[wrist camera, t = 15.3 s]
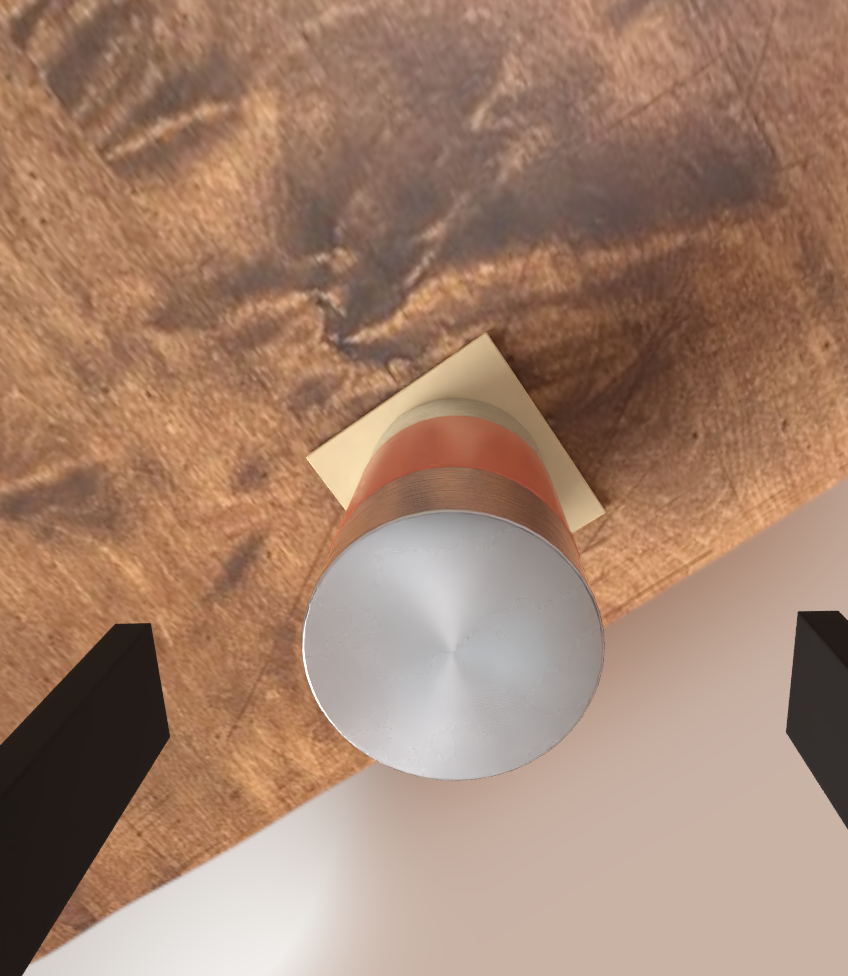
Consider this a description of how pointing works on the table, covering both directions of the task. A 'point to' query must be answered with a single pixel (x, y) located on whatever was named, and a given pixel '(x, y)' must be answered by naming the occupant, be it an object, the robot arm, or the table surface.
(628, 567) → the table surface
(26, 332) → the table surface
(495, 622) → the can
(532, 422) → the coaster
